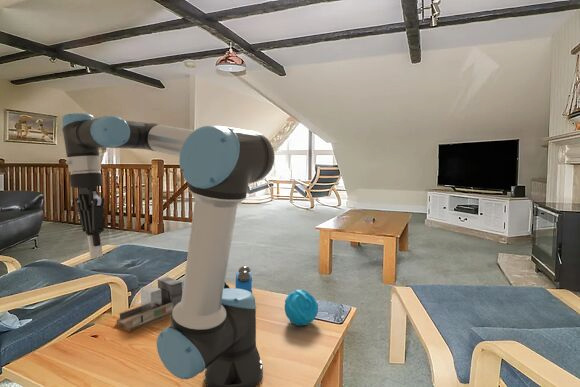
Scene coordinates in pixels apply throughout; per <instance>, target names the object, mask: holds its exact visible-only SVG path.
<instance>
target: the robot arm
mask: <svg viewBox="0 0 580 387" xmlns="http://www.w3.org/2000/svg"><path fill="white" fill-rule="evenodd" d="M61 120H62V121H61V122H62V133H63V142H64V146H65V153H66V160H65V165H68V166H67V169H68V172H69V173H71V174H69V184H70V187H71V188H72V189H77V190H78V191H77V192H78V193H77V197H76V198H74V203H75V205H76V207H77V212H78V215H79V220H80V225H81V229H82V232H84V233H85V234H86V237H87V244H88V251H89V258H90V259H97V258H101V257H103V256H104V255H103V246H102V238H101V233H102V232H105V231H104V229H105V228H104V227H105V224H104V223H105V222H104V213H105V212H104V205H105V197H100V193H99V190H98V187H100V186H103V184H104V182H103V175H102V173H101V172H100V171H102V166H101V165H102V162H101V156H100V149H108V148H109V149H133V150H134V149H135V150H138V149H139V150H146V151H152V152H159V153H162V154H168V155H172V156H177V157H178V156H179V168H180V170H181V171H182V172H183V173H182V174H181V175H182V176H183V179H184V180H185V181H186V182H187V183H188V184H189V185H188V191H189V193H190V194H191V195H192V197H193V198H194V204H193V211H192V212H193V213H192V220H191V226H190V235H189V242H188V249H187V257H186V263H185V272H184V277H183V284H182V299H181V302H179V303H178V304H177V305H176V306H175V307H174V309H173V312H172V316H171V317H170V325H169V326H168V327H166V328H165V327H164V328H163V330H162V331H161V332H159V334H158V335H157V338H156V350H157V355H158V357H159V358H160V359H159V360H160V361H161V362H162V364H163V366H164V367H165V368H166V370H167V371H168V372H169V373H170V374H172V375H173V376H174V377H176V378H178V379H181V380H190V379H194V378H195V377H196V376H197V375H199V374H201V373H203V372H204V377H205V378H204V380H205V384H206V387H257V386H258V385H259V384H260V383H261V381H262V379H263V377H264V376H263V375H264V369H263V368H264V366H263V362H262V360H261V356H260V353H259V351H258V348H257V326H256V325H257V319H256V318H257V314H256V312H257V310H256V309H257V306H256V297H255V295H254V294H253V292H252V293H251V292H249V291H247V290H244V289H237V288H236V287H234V288H233V287H229V288H226V289H224V284H225V282H226V278H227V271H228V265H229V259H230V253H231V248H232V246H231V245H232V240H233V234H234V229H235V228H234V227H235V221H236V215H237V209H238V205H239V204H240V203H242V202H243V201H244V200H246V199H247V193H248V188H249V184H250V183H256V182H258V181H260V180H262V179H264V178H266V177H267V176H268V174H270V172H271V170H272V169H273V167H274V164H275V157H276V156H275V150H274V147H273V144H272V143H271V142H270V140H269V139H268V138H267V137H266V136H265V135H264V134H262V133H260V132H258V131H255V130H250V129H249V130H248V129H241V128H236V127H229V126H225V125H204V126H201V127H198V128H196V129H195V130H194V129H189V128H182V127H176V126H170V125H163V124H159V123H152V122H150V123H149V122H141V121H134V120H124V119H123V118H121V117H120V116H118V115H102V116H100V117H96V118H95V117H94V115H93V114H90V113H81V112H80V113H79V112H74V113H73V112H72V113H65V114H64V115H63V116H62V117H61Z"/></svg>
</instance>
